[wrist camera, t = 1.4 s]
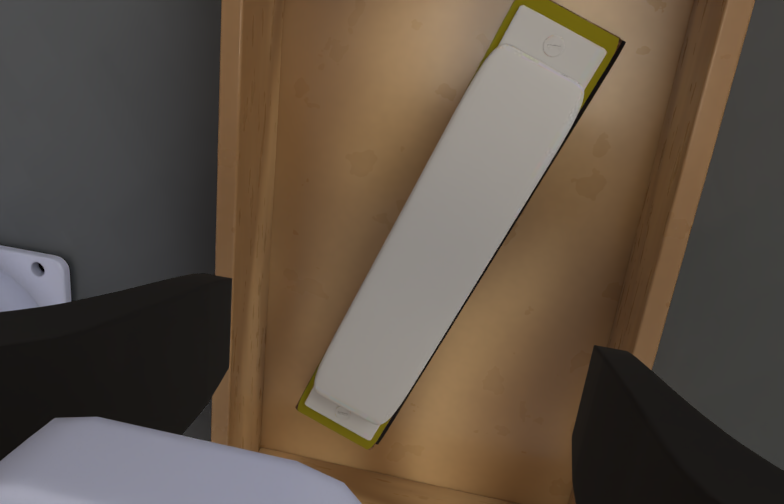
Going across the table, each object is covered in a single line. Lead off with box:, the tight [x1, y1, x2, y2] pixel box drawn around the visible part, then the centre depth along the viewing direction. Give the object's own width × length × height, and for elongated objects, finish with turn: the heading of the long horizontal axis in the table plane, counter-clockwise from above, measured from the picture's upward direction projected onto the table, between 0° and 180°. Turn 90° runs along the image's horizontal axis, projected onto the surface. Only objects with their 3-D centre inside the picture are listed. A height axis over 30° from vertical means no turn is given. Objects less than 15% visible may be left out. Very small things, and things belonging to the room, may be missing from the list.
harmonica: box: [295, 0, 626, 450], centre depth 19 cm, size 15×3×2 cm, turn 153°
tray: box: [211, 0, 755, 504], centre depth 19 cm, size 12×19×3 cm, turn 174°
